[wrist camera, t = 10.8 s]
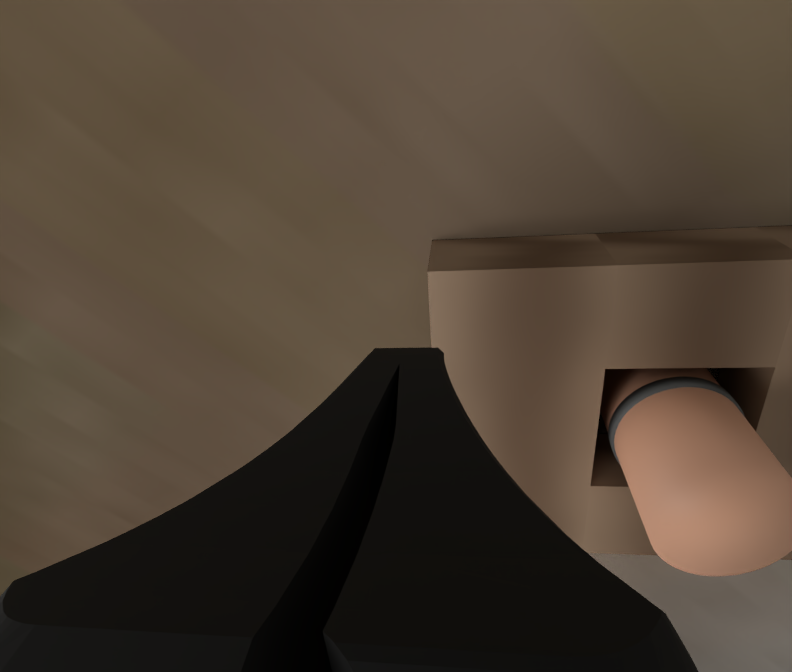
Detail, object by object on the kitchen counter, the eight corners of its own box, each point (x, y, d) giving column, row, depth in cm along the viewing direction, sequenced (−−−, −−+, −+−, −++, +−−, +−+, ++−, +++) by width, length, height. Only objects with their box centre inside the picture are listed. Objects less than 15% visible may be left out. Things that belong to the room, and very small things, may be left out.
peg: (585, 425, 22) (634, 574, 16) (597, 336, 20) (659, 465, 14) (693, 427, 21) (789, 582, 15) (716, 335, 19) (837, 470, 13)
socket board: (443, 493, 24) (441, 547, 22) (431, 240, 19) (427, 271, 16) (828, 501, 22) (877, 562, 19) (946, 219, 16) (1037, 251, 14)
